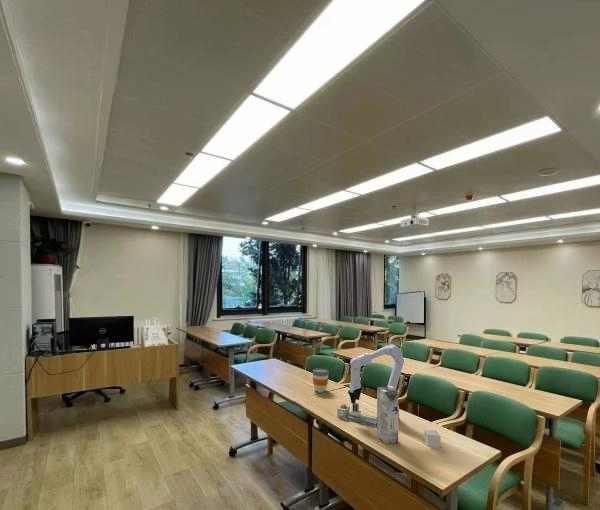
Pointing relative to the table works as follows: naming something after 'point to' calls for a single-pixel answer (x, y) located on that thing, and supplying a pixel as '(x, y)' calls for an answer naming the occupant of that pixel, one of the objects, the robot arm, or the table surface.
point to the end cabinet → (343, 411)
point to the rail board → (363, 419)
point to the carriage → (355, 410)
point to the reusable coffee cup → (320, 379)
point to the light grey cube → (432, 438)
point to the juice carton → (387, 414)
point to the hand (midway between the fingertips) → (355, 401)
